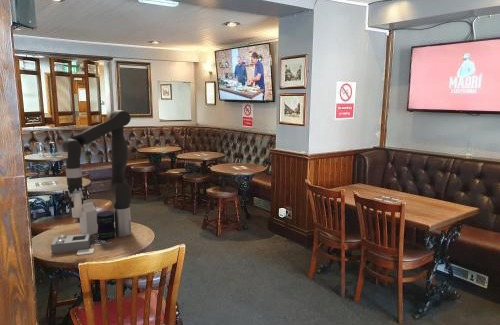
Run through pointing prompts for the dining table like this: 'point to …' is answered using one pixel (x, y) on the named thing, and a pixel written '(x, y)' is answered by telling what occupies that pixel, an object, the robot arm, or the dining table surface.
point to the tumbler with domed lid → (77, 205)
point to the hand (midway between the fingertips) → (76, 206)
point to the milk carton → (88, 219)
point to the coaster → (85, 251)
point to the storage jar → (105, 225)
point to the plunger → (62, 237)
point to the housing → (71, 243)
